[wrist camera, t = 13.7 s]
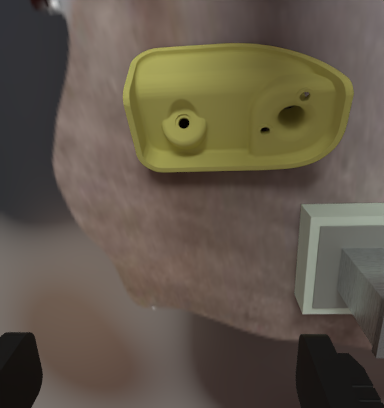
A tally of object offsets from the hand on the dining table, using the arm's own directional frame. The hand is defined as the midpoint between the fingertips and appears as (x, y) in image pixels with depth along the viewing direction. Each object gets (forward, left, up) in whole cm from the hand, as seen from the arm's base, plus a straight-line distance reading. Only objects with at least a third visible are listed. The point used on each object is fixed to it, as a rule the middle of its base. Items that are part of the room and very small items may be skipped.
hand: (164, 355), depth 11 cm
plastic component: (-4, +4, -30) cm, 31 cm away
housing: (+12, +18, -26) cm, 33 cm away
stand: (+12, +18, -30) cm, 37 cm away
